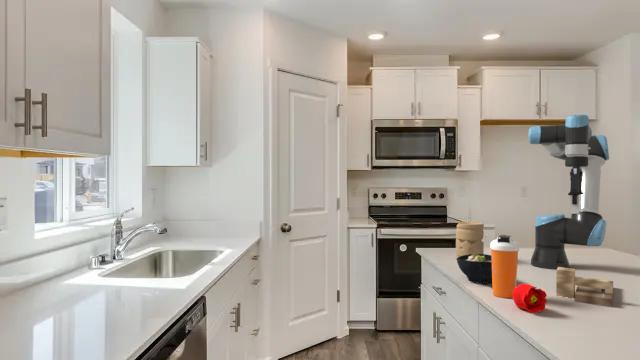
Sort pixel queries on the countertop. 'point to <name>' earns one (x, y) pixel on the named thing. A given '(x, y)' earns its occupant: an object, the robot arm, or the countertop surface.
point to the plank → (594, 295)
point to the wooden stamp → (575, 282)
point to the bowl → (476, 267)
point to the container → (469, 238)
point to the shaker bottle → (504, 265)
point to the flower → (529, 298)
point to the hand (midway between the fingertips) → (576, 212)
